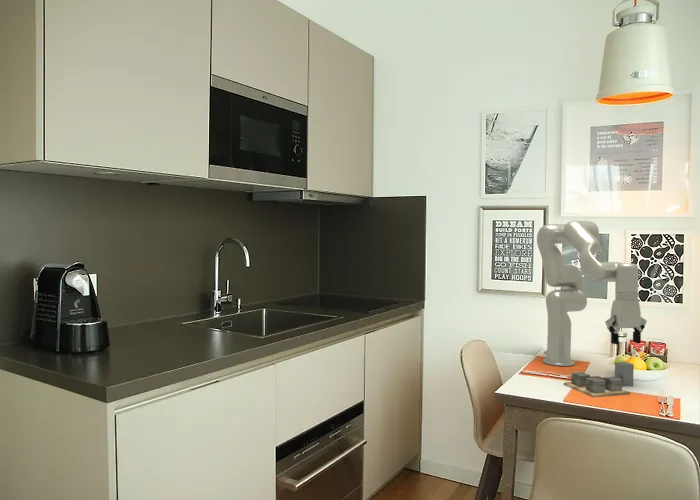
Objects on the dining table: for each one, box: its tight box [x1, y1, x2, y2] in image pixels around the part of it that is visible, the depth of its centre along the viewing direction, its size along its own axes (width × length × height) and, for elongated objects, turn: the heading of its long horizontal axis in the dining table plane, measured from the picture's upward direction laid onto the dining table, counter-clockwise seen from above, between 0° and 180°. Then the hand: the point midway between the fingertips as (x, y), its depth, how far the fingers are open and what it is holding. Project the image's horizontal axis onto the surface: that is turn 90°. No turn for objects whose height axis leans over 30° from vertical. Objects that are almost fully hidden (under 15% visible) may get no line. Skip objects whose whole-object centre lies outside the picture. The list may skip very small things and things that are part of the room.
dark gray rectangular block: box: [614, 361, 635, 388], centre depth 210 cm, size 4×4×8 cm
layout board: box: [563, 371, 631, 398], centre depth 203 cm, size 16×15×5 cm
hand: (625, 343), depth 209 cm, fingers open, 9 cm apart
